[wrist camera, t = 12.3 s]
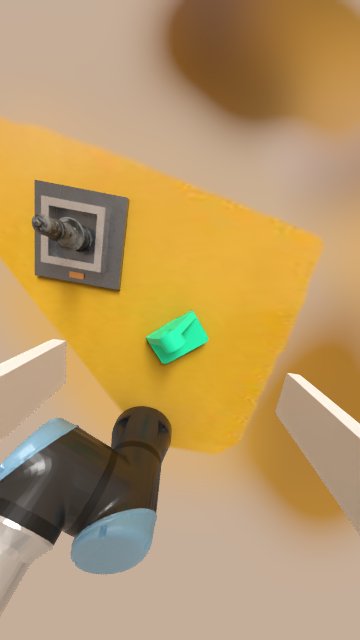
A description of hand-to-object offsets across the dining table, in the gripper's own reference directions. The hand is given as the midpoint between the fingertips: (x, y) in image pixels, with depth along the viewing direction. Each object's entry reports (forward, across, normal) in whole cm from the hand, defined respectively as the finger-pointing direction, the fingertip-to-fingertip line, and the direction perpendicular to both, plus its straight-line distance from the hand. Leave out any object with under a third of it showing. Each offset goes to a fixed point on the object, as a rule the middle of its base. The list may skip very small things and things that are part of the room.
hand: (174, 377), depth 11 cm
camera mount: (+32, -1, +7) cm, 33 cm away
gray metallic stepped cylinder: (+30, +22, -10) cm, 39 cm away
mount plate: (+31, +22, -10) cm, 40 cm away
